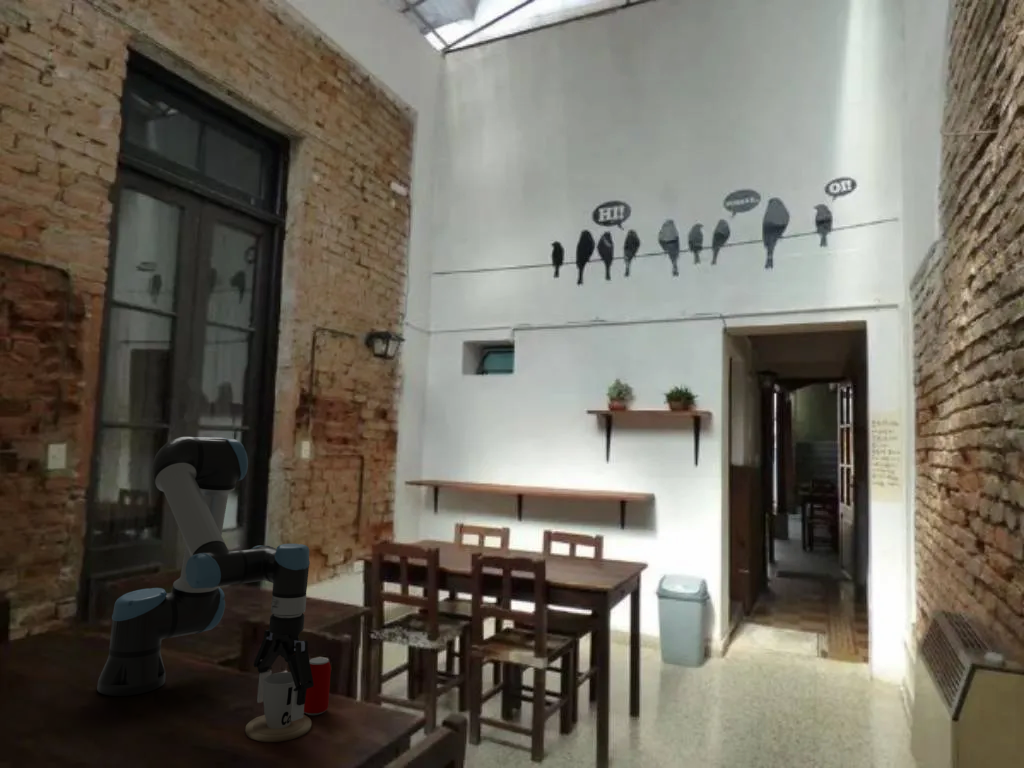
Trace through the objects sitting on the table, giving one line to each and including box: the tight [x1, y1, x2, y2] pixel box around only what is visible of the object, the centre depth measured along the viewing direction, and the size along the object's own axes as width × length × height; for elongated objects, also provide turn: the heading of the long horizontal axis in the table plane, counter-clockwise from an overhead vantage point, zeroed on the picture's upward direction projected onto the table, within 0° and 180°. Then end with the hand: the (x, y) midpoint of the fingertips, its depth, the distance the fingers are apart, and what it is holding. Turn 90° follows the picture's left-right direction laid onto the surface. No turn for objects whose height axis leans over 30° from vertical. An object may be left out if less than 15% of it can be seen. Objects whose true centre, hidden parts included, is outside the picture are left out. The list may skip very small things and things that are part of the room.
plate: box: [244, 714, 312, 743], centre depth 148 cm, size 14×14×1 cm
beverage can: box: [304, 657, 332, 716], centre depth 158 cm, size 6×6×12 cm
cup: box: [262, 671, 296, 729], centre depth 149 cm, size 8×8×10 cm
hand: (279, 709), depth 149 cm, fingers open, 13 cm apart
